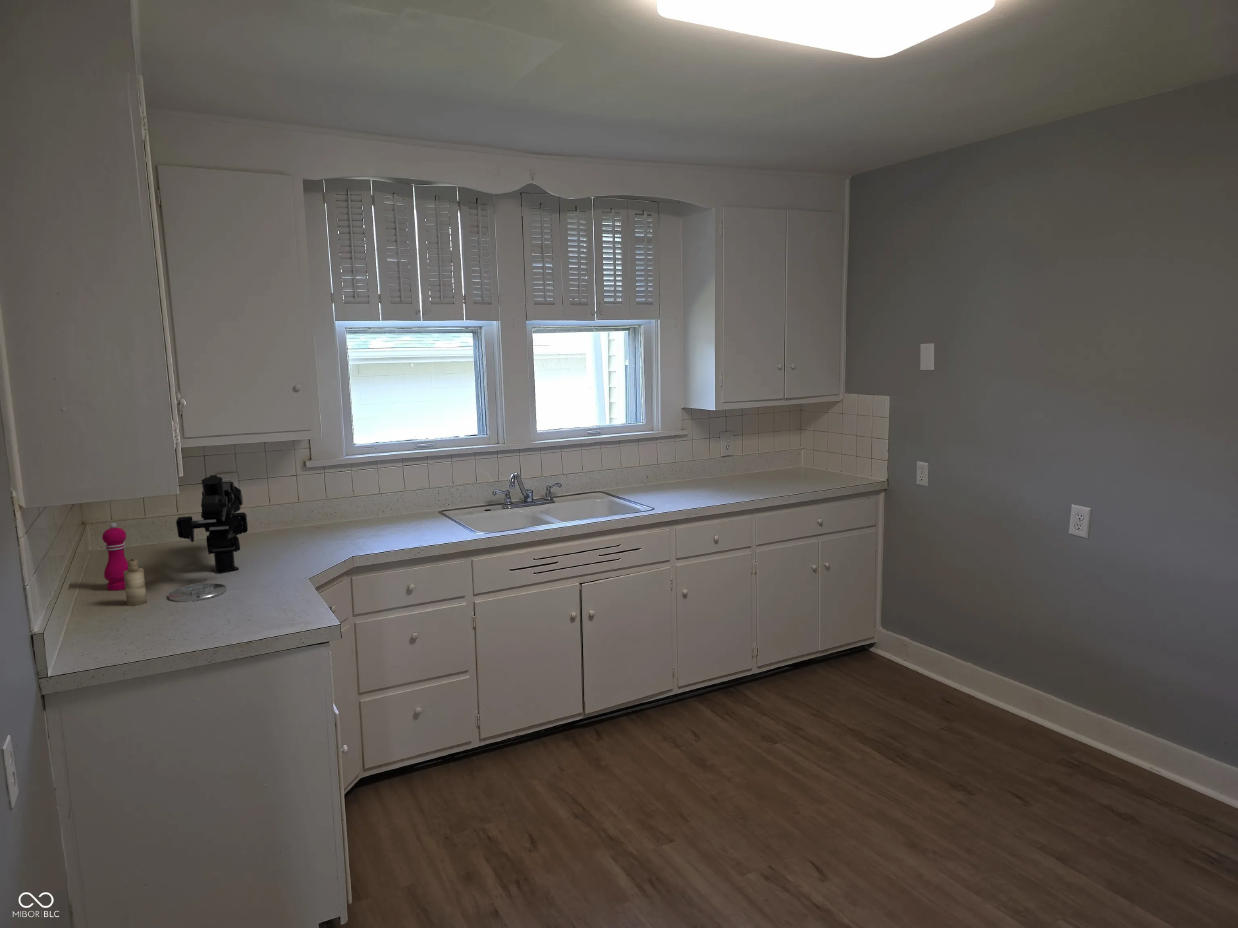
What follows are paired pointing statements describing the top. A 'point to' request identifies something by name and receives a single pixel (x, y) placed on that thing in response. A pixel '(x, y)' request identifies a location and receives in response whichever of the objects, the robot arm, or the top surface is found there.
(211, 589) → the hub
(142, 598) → the knob
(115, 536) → the pepper mill
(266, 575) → the top surface
